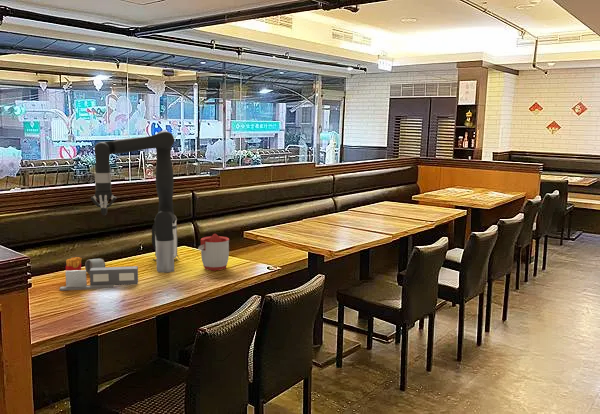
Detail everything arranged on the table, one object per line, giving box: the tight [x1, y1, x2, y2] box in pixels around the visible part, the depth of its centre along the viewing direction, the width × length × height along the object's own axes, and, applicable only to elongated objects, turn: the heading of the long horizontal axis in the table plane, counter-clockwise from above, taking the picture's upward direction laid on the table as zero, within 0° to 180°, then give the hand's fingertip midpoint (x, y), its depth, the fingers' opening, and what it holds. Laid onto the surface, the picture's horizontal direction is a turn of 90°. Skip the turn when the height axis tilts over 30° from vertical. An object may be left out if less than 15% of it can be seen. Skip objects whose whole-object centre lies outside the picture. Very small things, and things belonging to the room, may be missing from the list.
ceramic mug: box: [84, 258, 106, 275], centre depth 286 cm, size 11×8×8 cm
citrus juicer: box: [197, 233, 230, 272], centre depth 296 cm, size 16×17×20 cm
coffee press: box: [151, 214, 180, 261], centre depth 314 cm, size 17×16×30 cm
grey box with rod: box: [59, 265, 139, 292], centre depth 261 cm, size 35×10×8 cm, turn 103°
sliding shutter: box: [65, 269, 88, 287], centre depth 255 cm, size 9×1×8 cm, turn 103°
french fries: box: [65, 256, 82, 271], centre depth 268 cm, size 8×4×12 cm, turn 152°
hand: (104, 215), depth 276 cm, fingers closed
